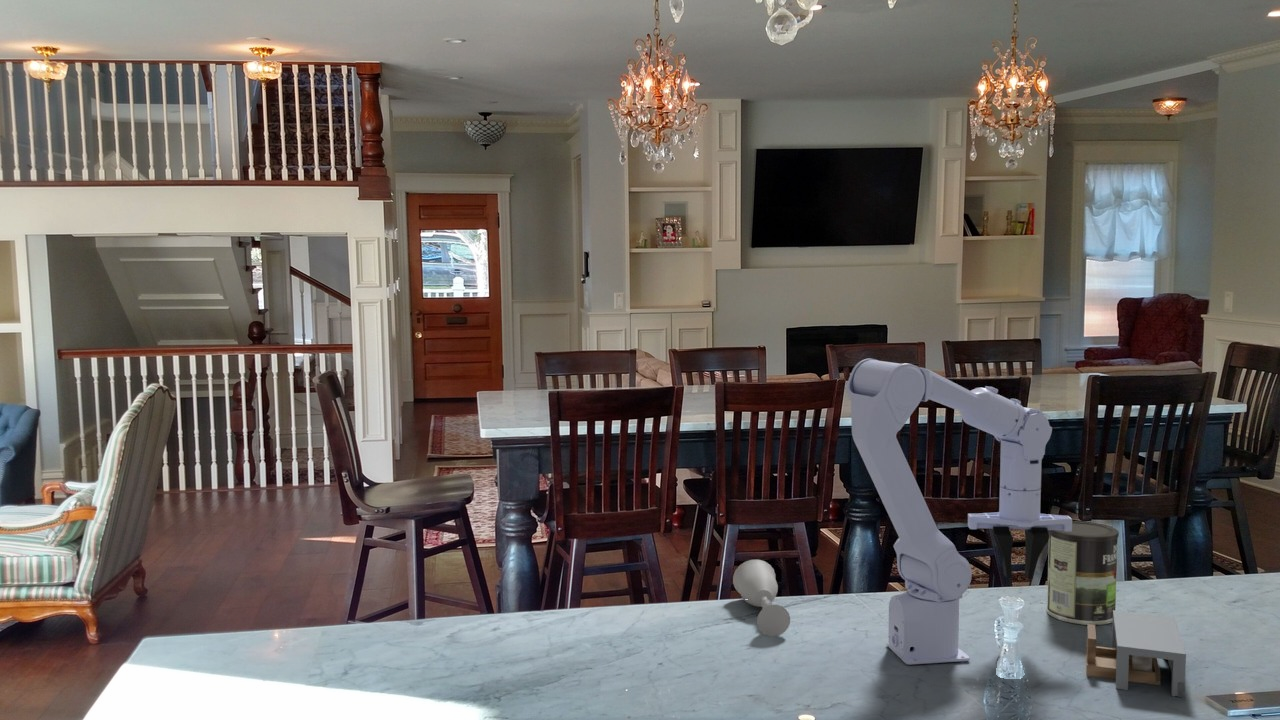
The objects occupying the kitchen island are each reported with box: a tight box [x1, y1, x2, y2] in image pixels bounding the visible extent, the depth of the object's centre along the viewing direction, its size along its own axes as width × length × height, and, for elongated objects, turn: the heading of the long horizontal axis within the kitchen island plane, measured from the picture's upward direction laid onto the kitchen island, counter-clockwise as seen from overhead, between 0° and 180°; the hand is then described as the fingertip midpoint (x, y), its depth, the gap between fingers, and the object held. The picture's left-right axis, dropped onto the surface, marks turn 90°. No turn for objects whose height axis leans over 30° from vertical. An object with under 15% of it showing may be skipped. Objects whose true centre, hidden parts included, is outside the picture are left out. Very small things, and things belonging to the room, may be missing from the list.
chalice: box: [732, 559, 791, 637], centre depth 164 cm, size 7×7×18 cm
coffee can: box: [1046, 520, 1120, 626], centre depth 163 cm, size 10×10×14 cm
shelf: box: [1111, 609, 1187, 698], centre depth 140 cm, size 8×15×6 cm, turn 157°
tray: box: [1085, 624, 1162, 686], centre depth 142 cm, size 9×8×5 cm
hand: (1018, 576), depth 153 cm, fingers open, 2 cm apart
